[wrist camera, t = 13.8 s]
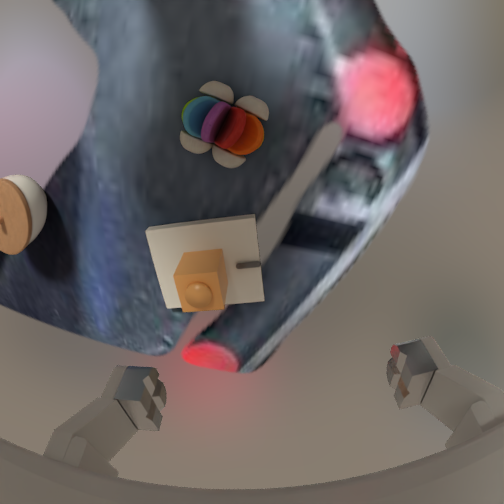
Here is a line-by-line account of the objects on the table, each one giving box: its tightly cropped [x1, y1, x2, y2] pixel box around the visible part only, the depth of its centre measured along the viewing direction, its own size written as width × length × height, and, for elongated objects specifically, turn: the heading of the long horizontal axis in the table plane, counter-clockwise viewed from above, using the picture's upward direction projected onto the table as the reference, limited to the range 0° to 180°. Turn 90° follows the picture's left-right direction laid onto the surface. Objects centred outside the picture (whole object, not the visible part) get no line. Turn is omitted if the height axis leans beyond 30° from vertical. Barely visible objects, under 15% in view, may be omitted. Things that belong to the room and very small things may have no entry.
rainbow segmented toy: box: [180, 81, 269, 168], centre depth 30 cm, size 8×10×7 cm
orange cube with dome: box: [173, 249, 228, 312], centre depth 36 cm, size 5×5×7 cm
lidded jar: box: [0, 175, 47, 254], centre depth 32 cm, size 11×11×9 cm
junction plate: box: [145, 214, 264, 308], centre depth 38 cm, size 12×14×6 cm
